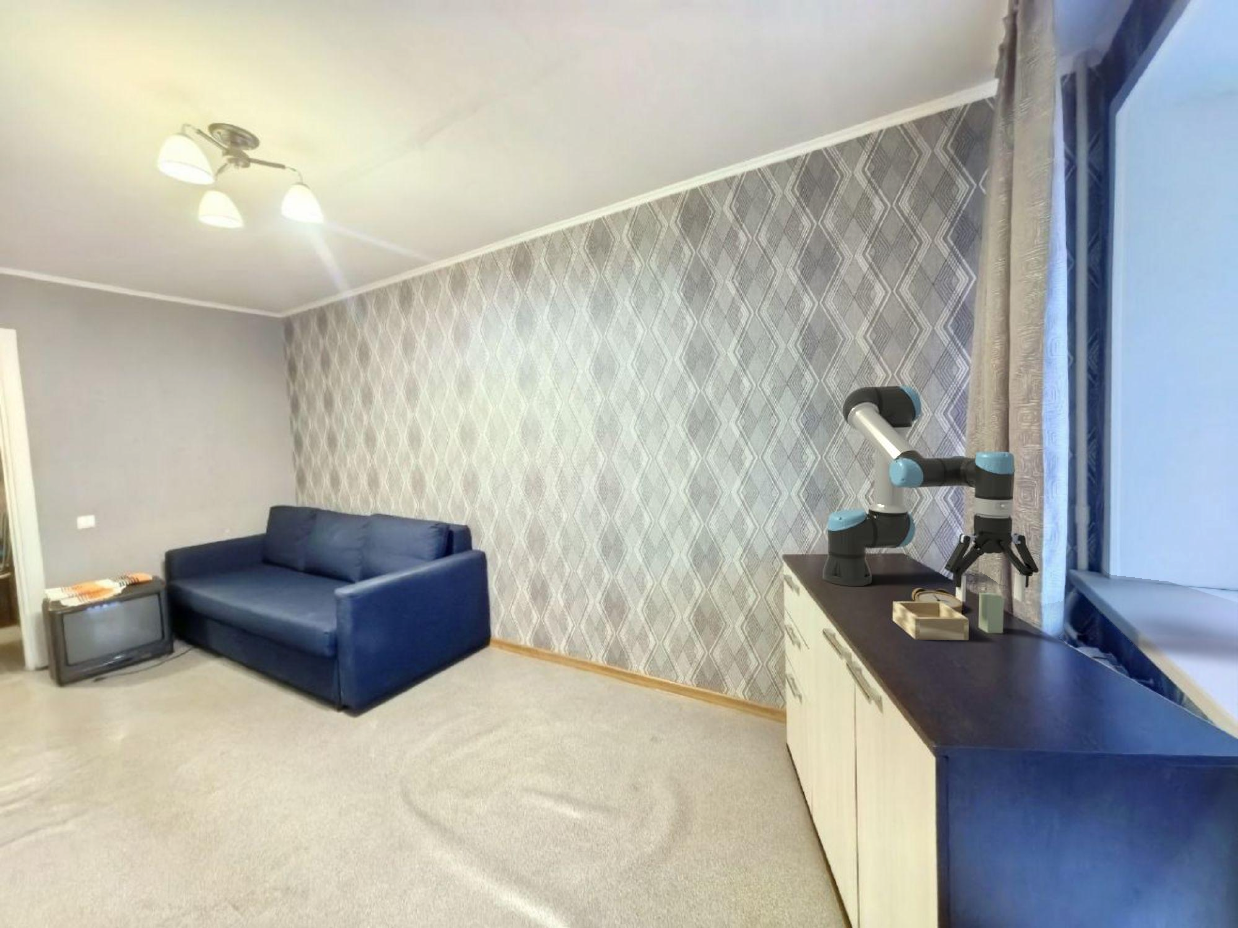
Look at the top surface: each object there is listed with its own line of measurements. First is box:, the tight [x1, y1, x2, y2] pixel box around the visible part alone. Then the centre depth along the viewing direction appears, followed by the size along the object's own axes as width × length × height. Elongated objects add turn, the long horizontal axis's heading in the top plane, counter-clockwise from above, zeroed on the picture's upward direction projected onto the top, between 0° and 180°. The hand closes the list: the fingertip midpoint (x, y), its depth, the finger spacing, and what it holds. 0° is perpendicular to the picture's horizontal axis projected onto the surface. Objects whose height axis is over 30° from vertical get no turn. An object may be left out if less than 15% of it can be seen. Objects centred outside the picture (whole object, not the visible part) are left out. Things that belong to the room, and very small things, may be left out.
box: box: [892, 601, 970, 641], centre depth 125 cm, size 12×12×6 cm
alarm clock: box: [911, 587, 963, 615], centre depth 142 cm, size 11×5×15 cm
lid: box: [978, 592, 1005, 634], centre depth 123 cm, size 13×13×10 cm
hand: (989, 599), depth 123 cm, fingers open, 13 cm apart
